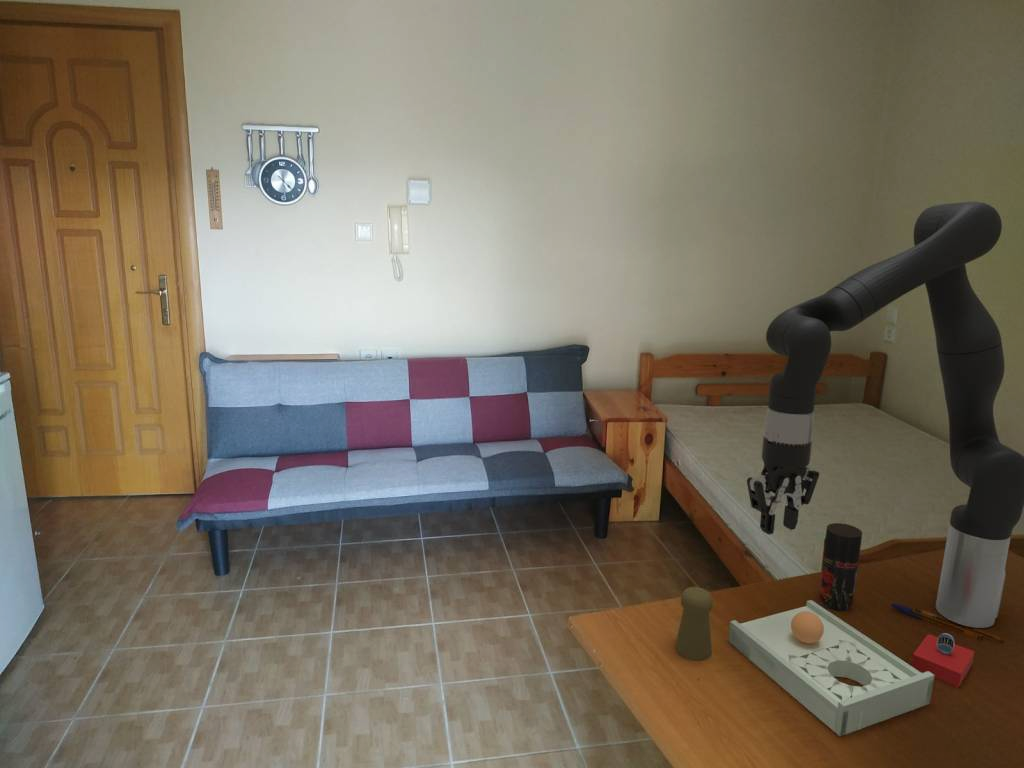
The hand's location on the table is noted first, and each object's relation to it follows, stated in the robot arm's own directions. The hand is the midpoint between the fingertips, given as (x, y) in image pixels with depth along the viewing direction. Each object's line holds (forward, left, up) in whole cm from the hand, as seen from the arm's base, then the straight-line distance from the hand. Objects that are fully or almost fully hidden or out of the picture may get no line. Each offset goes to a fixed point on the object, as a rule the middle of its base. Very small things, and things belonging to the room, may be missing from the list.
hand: (778, 529), depth 119 cm
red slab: (-19, +19, -20) cm, 33 cm away
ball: (0, +9, -14) cm, 16 cm away
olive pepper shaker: (+16, 0, -19) cm, 25 cm away
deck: (0, +13, -19) cm, 23 cm away
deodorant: (-18, -2, -19) cm, 27 cm away
